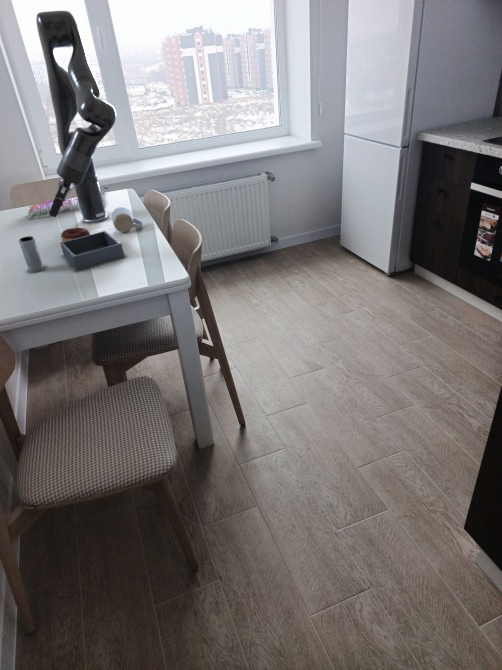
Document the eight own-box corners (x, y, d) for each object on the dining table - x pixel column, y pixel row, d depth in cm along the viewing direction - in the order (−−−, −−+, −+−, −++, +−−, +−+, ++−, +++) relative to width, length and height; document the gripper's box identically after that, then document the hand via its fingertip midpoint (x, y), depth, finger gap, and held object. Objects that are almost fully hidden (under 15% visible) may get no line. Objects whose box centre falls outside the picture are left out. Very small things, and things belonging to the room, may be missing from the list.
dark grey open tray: (63, 255, 160) (59, 242, 158) (108, 243, 167) (105, 230, 165) (77, 271, 148) (73, 256, 146) (124, 257, 155) (121, 243, 152)
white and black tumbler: (38, 272, 150) (28, 241, 144) (26, 272, 151) (15, 241, 145) (46, 266, 154) (36, 236, 148) (34, 266, 155) (24, 236, 149)
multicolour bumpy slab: (100, 200, 217) (97, 188, 214) (99, 209, 204) (96, 197, 202) (31, 209, 212) (28, 198, 209) (26, 219, 200) (22, 207, 197)
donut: (92, 242, 170) (89, 231, 168) (64, 248, 167) (61, 237, 165) (89, 233, 178) (86, 223, 176) (62, 239, 175) (59, 228, 173)
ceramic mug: (115, 235, 174) (111, 214, 170) (114, 228, 181) (109, 208, 177) (144, 230, 177) (140, 210, 173) (142, 223, 183) (138, 204, 179)
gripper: (65, 152, 145) (45, 198, 151) (58, 163, 133) (37, 212, 139) (88, 165, 148) (68, 210, 154) (85, 176, 136) (63, 224, 142)
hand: (54, 211), depth 146 cm, fingers open, 8 cm apart
